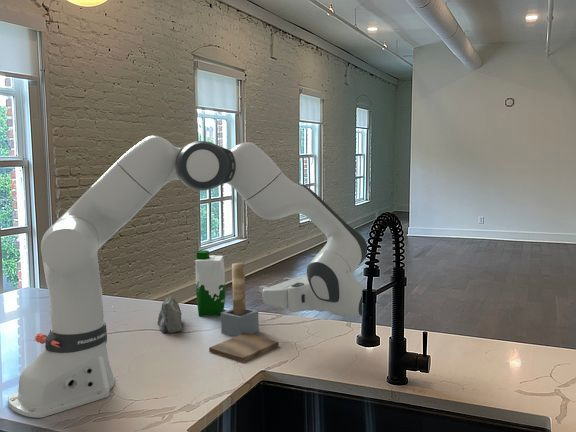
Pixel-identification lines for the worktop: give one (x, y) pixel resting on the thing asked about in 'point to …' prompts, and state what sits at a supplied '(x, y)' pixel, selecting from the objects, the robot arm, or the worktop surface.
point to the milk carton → (210, 284)
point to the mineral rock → (170, 316)
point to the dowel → (238, 289)
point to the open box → (239, 323)
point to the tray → (243, 347)
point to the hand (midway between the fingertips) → (272, 284)
